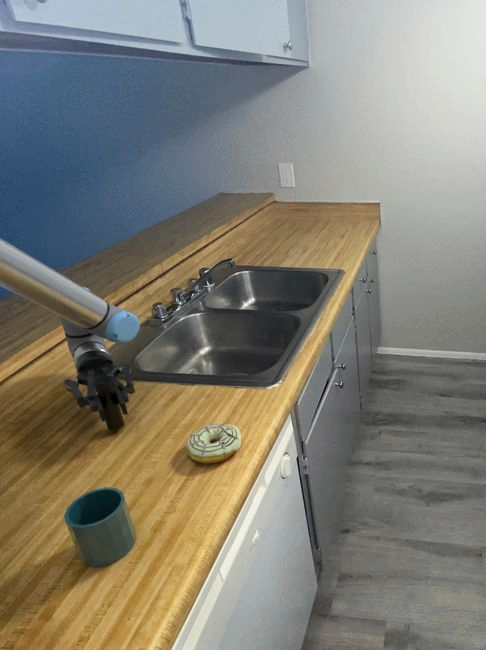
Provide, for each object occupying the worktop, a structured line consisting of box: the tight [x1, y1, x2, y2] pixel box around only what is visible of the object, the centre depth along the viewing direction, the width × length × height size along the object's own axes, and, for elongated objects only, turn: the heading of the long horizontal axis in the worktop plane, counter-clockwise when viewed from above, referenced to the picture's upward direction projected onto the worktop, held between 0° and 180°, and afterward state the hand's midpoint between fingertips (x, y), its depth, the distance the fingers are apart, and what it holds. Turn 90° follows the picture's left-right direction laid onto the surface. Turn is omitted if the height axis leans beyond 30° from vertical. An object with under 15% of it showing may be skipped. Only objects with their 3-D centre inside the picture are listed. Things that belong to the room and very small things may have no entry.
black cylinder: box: [94, 376, 125, 432], centre depth 101 cm, size 3×3×12 cm
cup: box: [63, 486, 137, 568], centre depth 76 cm, size 8×8×9 cm
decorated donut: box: [185, 423, 243, 465], centre depth 98 cm, size 10×11×4 cm
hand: (113, 412), depth 96 cm, fingers closed on black cylinder, 3 cm apart
